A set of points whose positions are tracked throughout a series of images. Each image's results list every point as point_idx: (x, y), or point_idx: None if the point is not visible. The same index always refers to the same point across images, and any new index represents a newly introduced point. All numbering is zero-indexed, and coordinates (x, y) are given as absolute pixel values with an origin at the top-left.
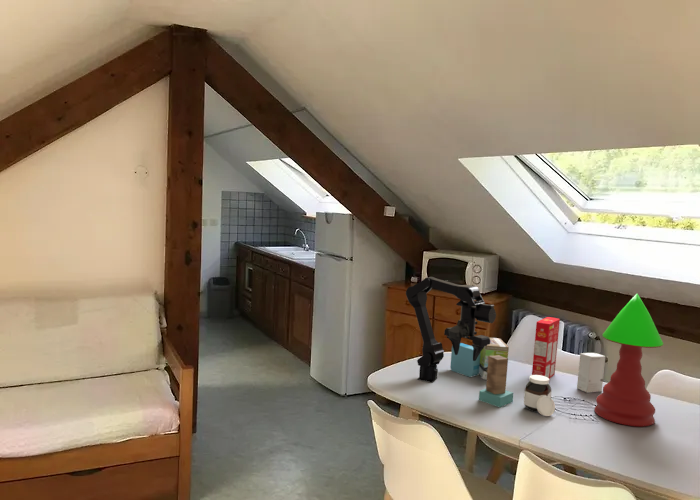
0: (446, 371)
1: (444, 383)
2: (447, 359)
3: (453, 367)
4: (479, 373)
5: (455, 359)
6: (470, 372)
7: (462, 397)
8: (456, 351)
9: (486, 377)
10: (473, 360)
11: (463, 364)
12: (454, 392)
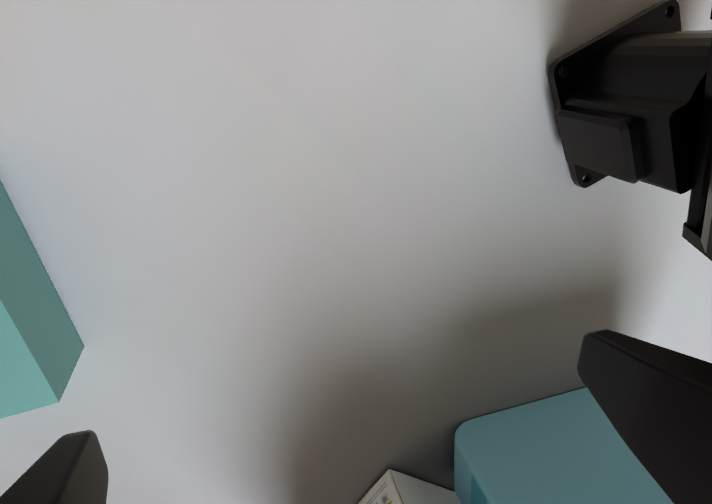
0: None
1: (480, 166)
2: None
3: None
4: None
5: None
6: (478, 445)
7: (113, 36)
8: (638, 388)
9: (377, 496)
10: (66, 437)
11: (565, 459)
12: (271, 74)
